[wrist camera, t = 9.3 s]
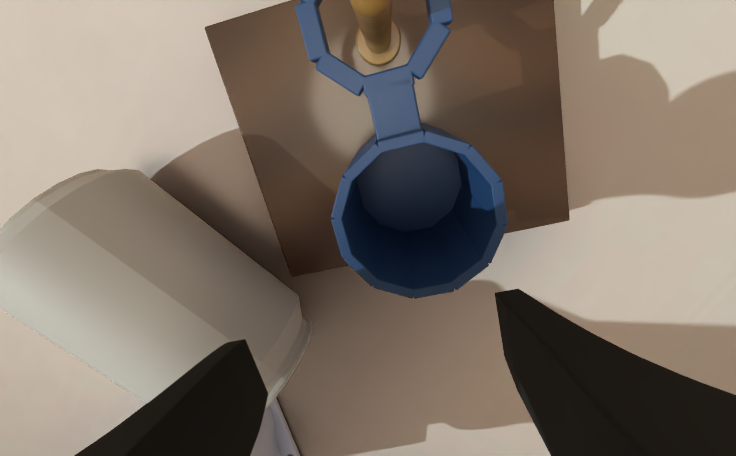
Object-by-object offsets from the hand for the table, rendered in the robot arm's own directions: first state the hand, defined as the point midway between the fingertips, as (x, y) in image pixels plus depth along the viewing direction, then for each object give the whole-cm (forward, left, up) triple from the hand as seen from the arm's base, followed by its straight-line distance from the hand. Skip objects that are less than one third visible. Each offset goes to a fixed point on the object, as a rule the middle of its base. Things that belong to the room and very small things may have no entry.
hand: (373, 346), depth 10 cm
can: (+5, +13, -6) cm, 15 cm away
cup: (+5, -2, -8) cm, 10 cm away
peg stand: (+5, -2, -9) cm, 11 cm away
